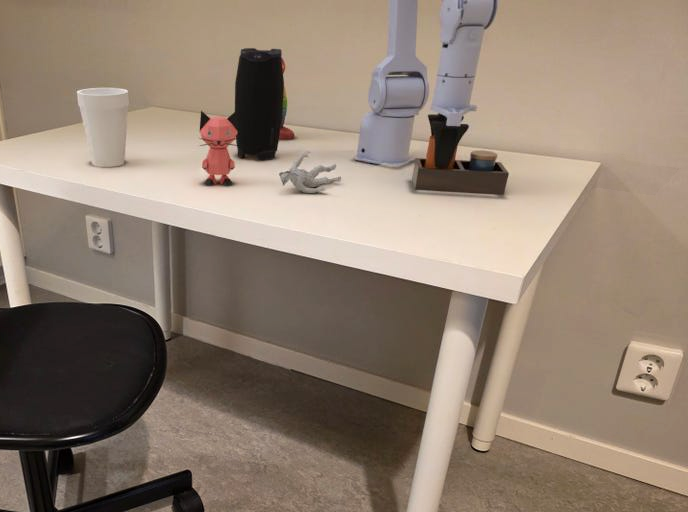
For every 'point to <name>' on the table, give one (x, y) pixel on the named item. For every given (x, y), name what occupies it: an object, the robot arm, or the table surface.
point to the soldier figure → (307, 177)
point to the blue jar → (482, 160)
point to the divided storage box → (460, 178)
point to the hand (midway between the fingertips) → (439, 163)
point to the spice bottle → (430, 156)
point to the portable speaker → (259, 102)
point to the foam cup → (105, 124)
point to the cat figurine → (218, 146)
